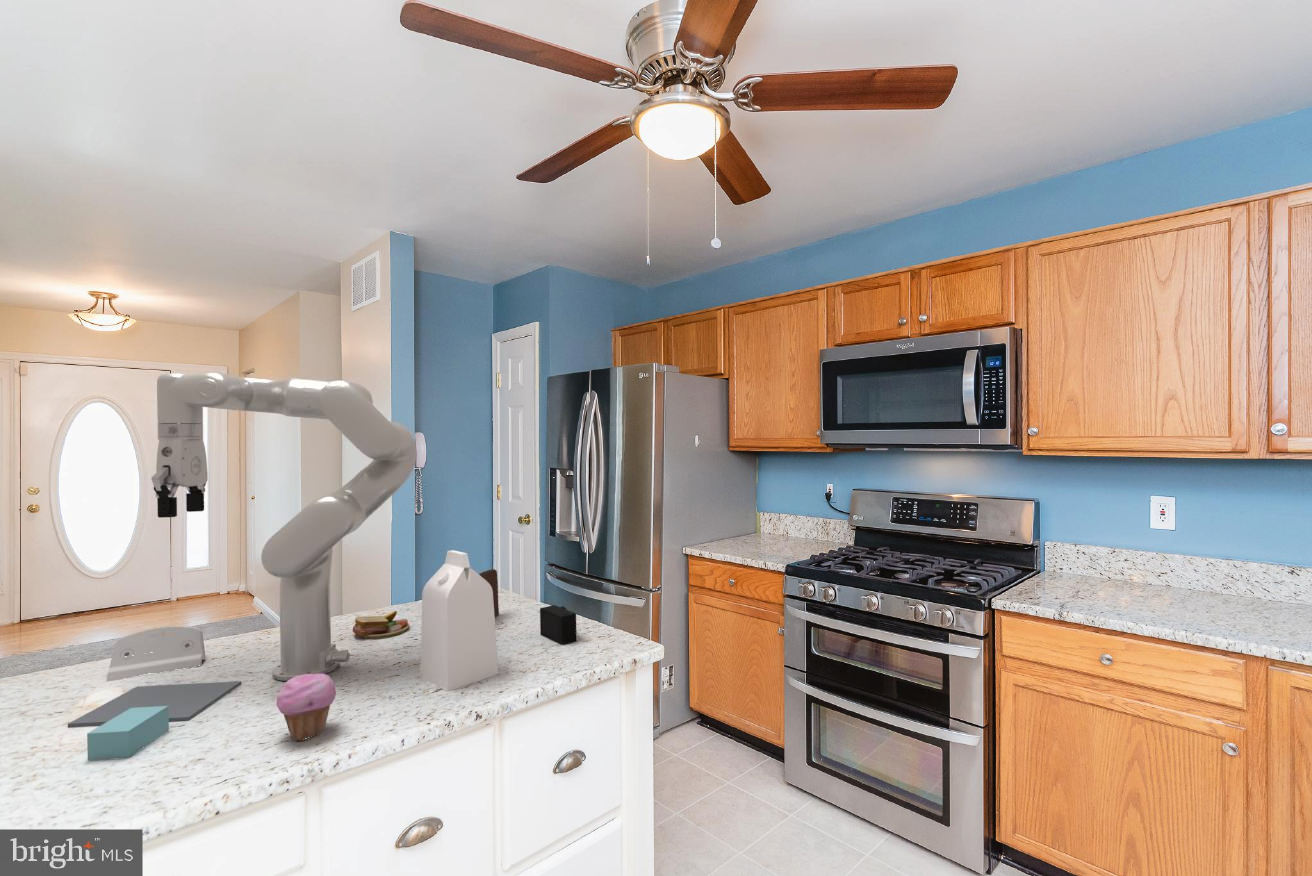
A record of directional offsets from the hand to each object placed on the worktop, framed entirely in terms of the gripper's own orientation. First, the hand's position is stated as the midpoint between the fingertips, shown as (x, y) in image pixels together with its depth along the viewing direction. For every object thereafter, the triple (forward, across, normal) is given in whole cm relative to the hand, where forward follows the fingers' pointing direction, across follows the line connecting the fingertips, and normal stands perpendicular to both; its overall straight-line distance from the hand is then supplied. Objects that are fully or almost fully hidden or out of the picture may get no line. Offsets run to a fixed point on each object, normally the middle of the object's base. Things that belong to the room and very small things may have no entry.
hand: (181, 514), depth 126 cm
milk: (+35, -9, -57) cm, 67 cm away
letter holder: (+35, +26, -54) cm, 69 cm away
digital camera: (+35, +10, -78) cm, 86 cm away
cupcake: (+35, -31, -35) cm, 58 cm away
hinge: (+35, +9, +10) cm, 38 cm away
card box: (+35, -28, -7) cm, 46 cm away
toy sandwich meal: (+36, +25, -33) cm, 54 cm away
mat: (+35, -12, -2) cm, 37 cm away
